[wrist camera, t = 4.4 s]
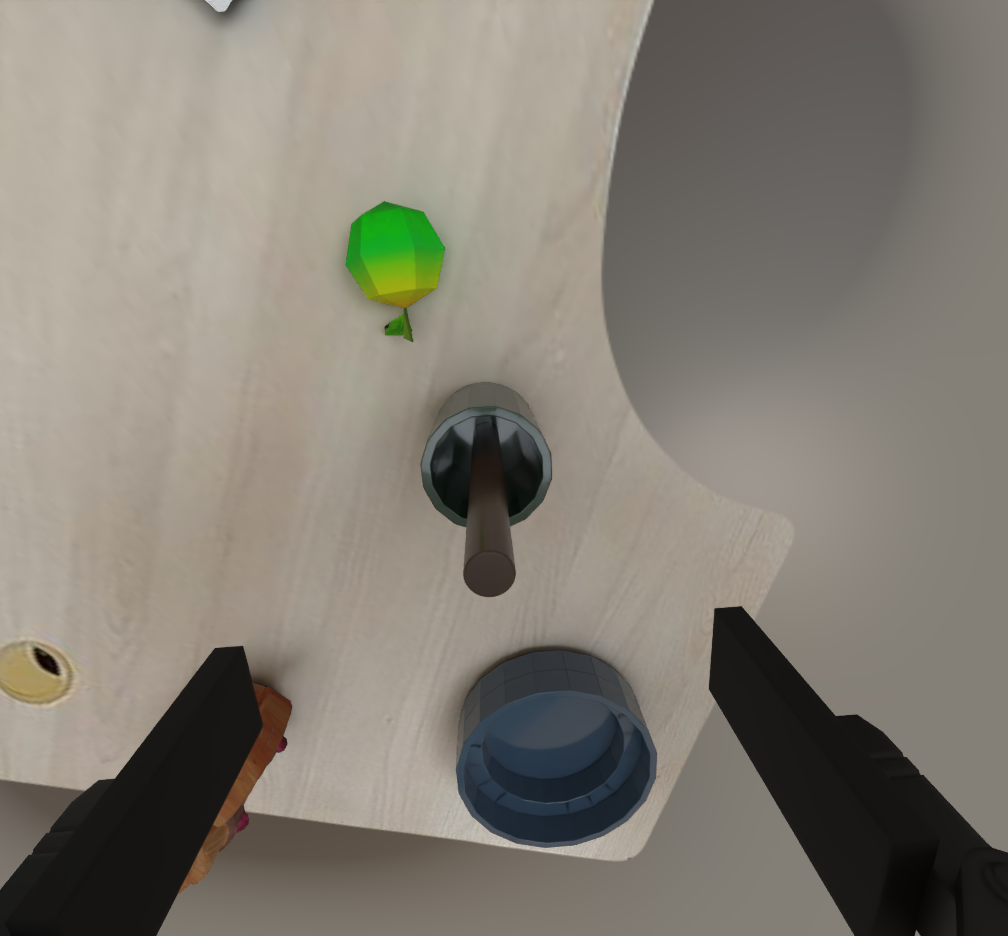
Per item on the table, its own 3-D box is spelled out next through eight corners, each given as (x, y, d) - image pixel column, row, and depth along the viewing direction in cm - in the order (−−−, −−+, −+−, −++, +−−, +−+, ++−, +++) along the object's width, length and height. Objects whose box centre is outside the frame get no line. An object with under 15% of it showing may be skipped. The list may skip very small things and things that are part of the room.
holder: (533, 378, 40) (549, 402, 31) (538, 476, 43) (553, 526, 33) (430, 385, 40) (414, 411, 31) (440, 483, 43) (428, 535, 33)
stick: (498, 421, 40) (514, 549, 19) (499, 446, 41) (517, 596, 20) (472, 423, 40) (460, 553, 19) (474, 448, 41) (465, 599, 20)
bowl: (638, 638, 48) (659, 683, 42) (635, 781, 53) (654, 838, 47) (451, 652, 48) (447, 700, 42) (467, 795, 53) (465, 854, 47)
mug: (255, 760, 50) (164, 941, 36) (182, 714, 48) (56, 886, 34) (351, 666, 48) (295, 822, 33) (278, 614, 46) (186, 755, 31)
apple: (363, 185, 29) (401, 347, 32) (451, 186, 33) (478, 330, 36) (312, 217, 34) (348, 354, 37) (393, 215, 38) (421, 338, 41)
